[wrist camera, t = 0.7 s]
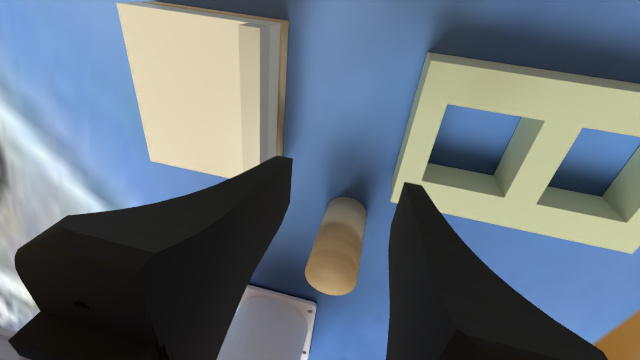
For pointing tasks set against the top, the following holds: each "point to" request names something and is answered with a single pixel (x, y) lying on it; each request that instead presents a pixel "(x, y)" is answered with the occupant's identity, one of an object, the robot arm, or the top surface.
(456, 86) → the socket board
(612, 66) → the top surface
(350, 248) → the peg
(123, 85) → the top surface
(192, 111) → the lid
